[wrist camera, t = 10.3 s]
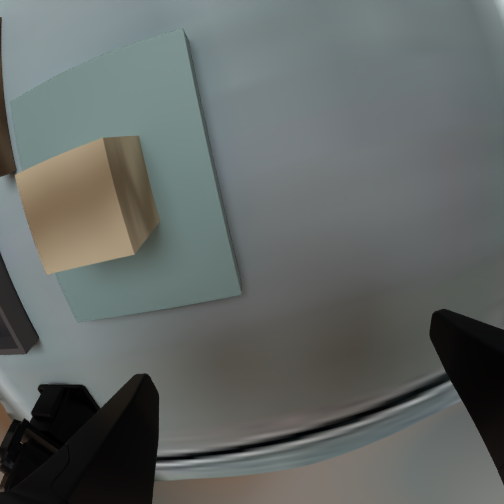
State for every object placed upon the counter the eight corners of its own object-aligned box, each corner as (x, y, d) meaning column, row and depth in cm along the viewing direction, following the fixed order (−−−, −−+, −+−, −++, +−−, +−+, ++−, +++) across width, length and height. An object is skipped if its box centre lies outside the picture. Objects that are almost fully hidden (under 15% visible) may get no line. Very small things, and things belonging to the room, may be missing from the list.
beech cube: (159, 221, 17) (134, 254, 12) (86, 240, 17) (46, 274, 12) (138, 135, 15) (102, 137, 11) (64, 161, 15) (14, 175, 11)
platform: (240, 280, 21) (241, 294, 19) (87, 308, 21) (77, 322, 19) (187, 38, 15) (182, 28, 13) (26, 103, 15) (10, 102, 13)
